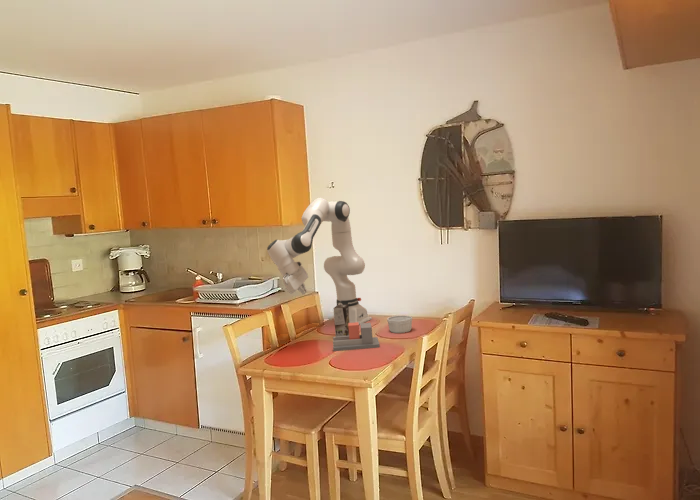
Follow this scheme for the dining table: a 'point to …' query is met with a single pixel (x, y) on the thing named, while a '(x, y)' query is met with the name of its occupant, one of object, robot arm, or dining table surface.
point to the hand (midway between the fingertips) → (305, 292)
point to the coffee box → (341, 320)
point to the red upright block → (354, 330)
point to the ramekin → (400, 323)
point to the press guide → (357, 340)
